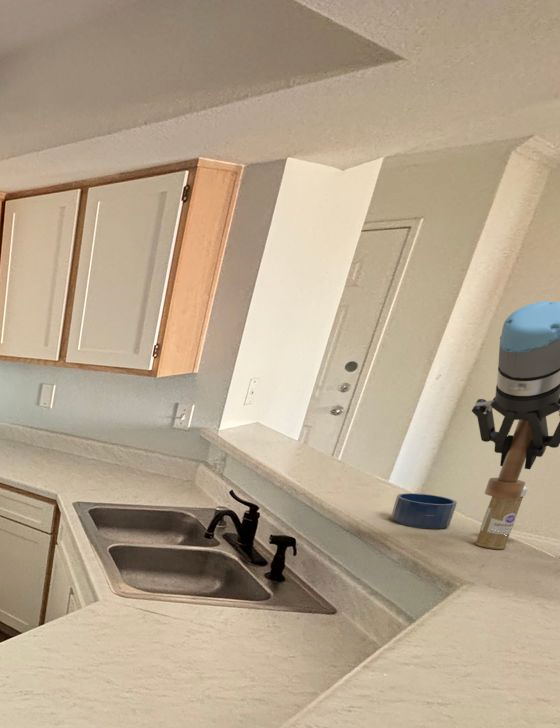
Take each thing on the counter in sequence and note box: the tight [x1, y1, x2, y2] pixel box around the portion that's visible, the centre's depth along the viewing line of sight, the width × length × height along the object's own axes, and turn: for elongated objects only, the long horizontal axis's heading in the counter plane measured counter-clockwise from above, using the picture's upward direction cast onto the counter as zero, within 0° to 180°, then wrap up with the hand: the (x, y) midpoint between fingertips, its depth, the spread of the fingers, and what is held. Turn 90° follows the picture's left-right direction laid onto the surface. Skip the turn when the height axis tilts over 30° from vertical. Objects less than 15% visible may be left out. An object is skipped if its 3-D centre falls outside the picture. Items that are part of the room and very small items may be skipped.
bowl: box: [390, 492, 458, 530], centre depth 139 cm, size 10×10×6 cm
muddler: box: [484, 420, 532, 499], centre depth 112 cm, size 5×5×18 cm
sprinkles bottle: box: [474, 486, 528, 550], centre depth 122 cm, size 5×5×14 cm
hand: (517, 462), depth 115 cm, fingers closed on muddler, 3 cm apart
